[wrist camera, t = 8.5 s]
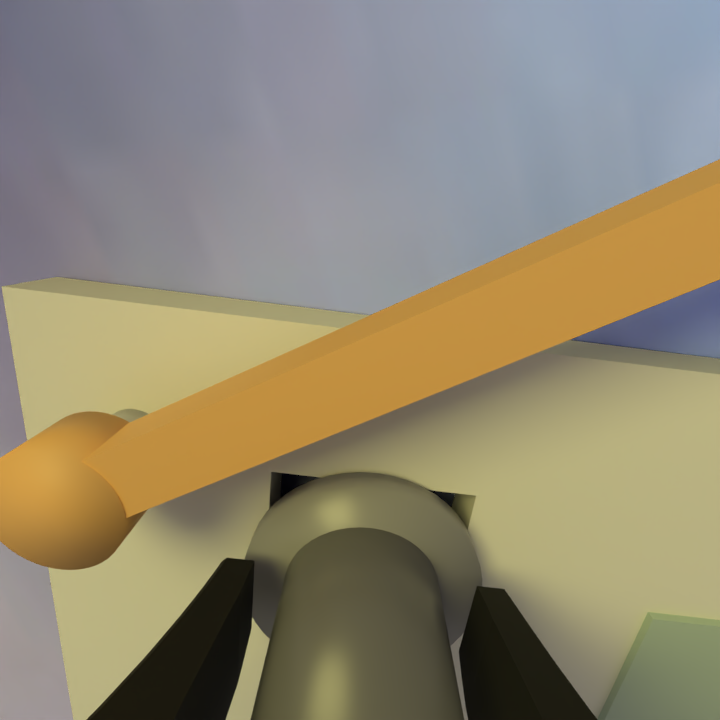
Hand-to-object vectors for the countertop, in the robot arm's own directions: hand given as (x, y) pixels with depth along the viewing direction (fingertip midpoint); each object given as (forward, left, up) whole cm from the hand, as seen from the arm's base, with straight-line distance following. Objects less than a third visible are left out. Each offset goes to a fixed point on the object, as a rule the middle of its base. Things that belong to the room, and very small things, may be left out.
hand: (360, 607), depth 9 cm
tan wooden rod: (+7, 0, 0) cm, 7 cm away
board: (-1, -3, -3) cm, 4 cm away
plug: (0, 0, -3) cm, 3 cm away
